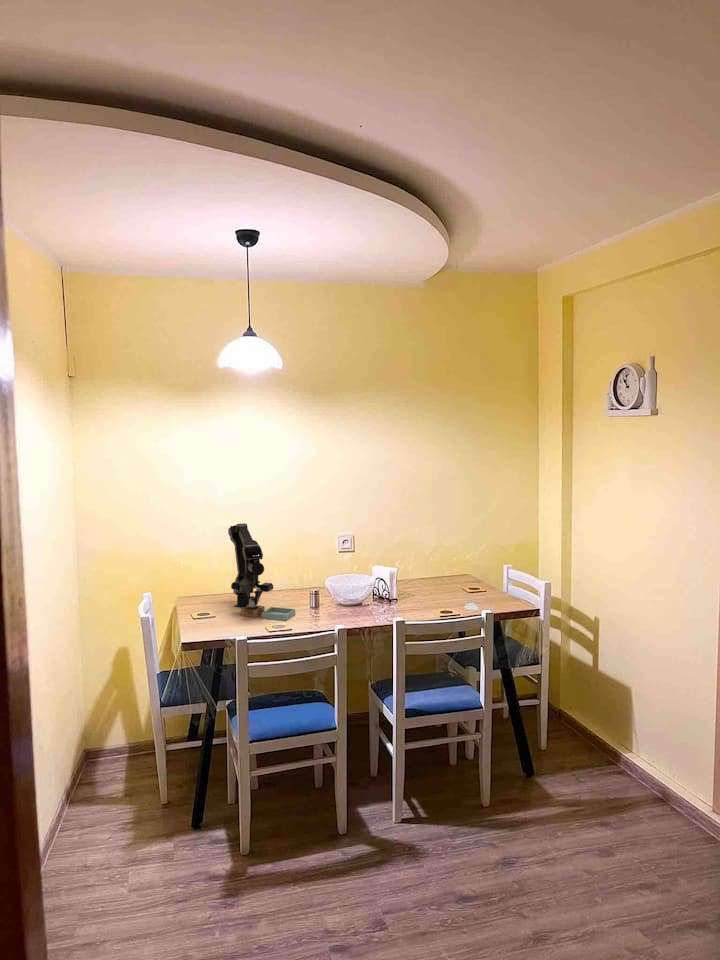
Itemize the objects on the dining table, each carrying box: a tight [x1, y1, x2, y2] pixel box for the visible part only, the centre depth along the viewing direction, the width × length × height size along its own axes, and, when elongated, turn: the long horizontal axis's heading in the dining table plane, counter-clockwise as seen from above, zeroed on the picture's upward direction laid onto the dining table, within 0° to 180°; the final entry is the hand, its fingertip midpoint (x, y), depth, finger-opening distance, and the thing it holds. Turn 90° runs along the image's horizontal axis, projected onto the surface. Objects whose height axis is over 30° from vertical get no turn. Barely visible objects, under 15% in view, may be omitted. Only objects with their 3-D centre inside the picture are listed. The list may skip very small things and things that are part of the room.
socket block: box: [240, 604, 266, 618], centre depth 301 cm, size 8×8×3 cm
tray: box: [261, 606, 296, 622], centre depth 297 cm, size 10×12×3 cm
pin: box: [249, 595, 256, 609], centre depth 301 cm, size 3×3×8 cm
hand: (252, 604), depth 301 cm, fingers closed on pin, 3 cm apart
